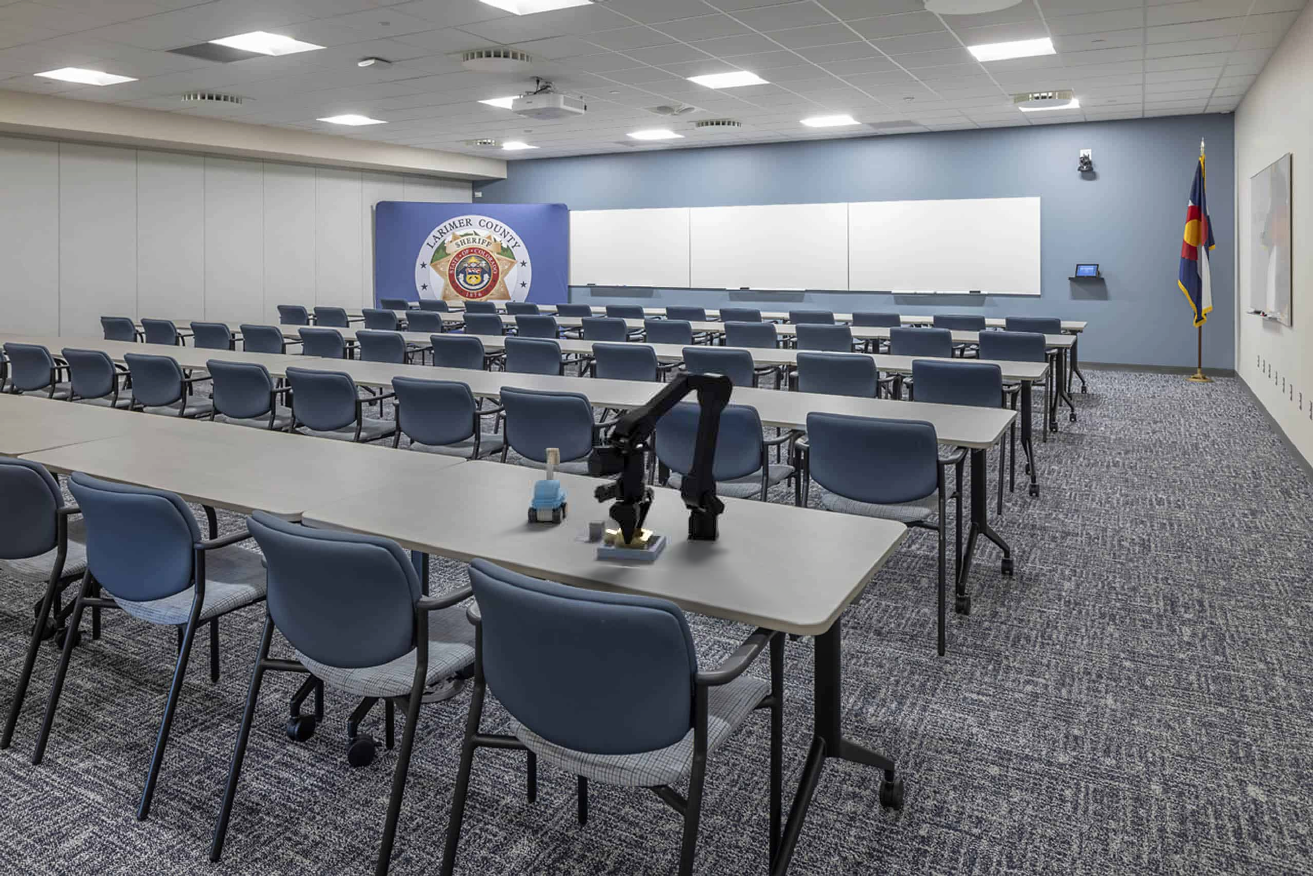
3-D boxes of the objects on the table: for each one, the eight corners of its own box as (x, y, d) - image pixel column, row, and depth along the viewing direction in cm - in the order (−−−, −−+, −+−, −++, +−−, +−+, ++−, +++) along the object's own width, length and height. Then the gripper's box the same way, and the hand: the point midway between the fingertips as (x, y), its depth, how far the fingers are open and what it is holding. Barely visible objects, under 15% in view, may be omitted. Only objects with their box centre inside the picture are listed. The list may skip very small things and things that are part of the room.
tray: (665, 545, 218) (666, 535, 218) (653, 562, 206) (653, 551, 205) (612, 541, 221) (612, 531, 221) (597, 558, 209) (597, 547, 208)
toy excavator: (572, 509, 250) (571, 446, 247) (560, 526, 234) (559, 459, 231) (541, 508, 251) (540, 446, 248) (526, 525, 235) (525, 459, 231)
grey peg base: (620, 533, 228) (620, 517, 227) (610, 544, 219) (610, 527, 218) (584, 531, 230) (584, 515, 229) (573, 541, 221) (573, 525, 220)
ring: (649, 546, 216) (652, 532, 215) (642, 555, 209) (645, 540, 208) (609, 534, 218) (612, 520, 217) (600, 542, 211) (604, 528, 210)
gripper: (608, 461, 221) (609, 525, 223) (586, 479, 203) (587, 548, 206) (654, 463, 218) (654, 528, 221) (635, 481, 200) (635, 551, 203)
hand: (632, 538), depth 213 cm, fingers open, 9 cm apart
